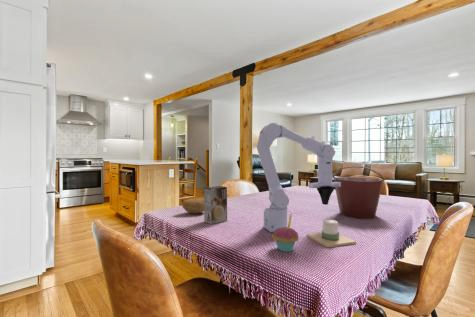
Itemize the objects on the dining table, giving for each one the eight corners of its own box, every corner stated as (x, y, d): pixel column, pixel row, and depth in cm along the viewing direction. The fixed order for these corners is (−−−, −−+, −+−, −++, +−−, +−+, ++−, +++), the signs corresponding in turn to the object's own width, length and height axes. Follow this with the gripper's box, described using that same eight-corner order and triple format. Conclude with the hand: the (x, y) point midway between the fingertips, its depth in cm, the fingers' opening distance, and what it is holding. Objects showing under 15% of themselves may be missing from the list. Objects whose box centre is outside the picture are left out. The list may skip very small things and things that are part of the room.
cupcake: (294, 244, 86) (294, 210, 86) (301, 254, 78) (301, 216, 78) (270, 244, 86) (270, 210, 86) (274, 254, 78) (274, 216, 77)
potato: (181, 212, 133) (180, 197, 133) (206, 210, 138) (206, 196, 138) (183, 216, 124) (183, 200, 124) (210, 214, 129) (210, 199, 129)
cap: (328, 235, 88) (328, 223, 88) (320, 230, 92) (320, 220, 92) (340, 233, 89) (340, 222, 89) (331, 229, 94) (331, 219, 94)
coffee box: (219, 218, 121) (219, 185, 121) (227, 220, 116) (227, 186, 116) (203, 221, 116) (203, 187, 115) (211, 224, 111) (211, 188, 110)
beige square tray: (326, 247, 83) (326, 230, 83) (306, 236, 95) (306, 221, 95) (355, 243, 87) (356, 227, 87) (333, 233, 98) (333, 218, 98)
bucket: (324, 213, 130) (325, 166, 130) (343, 207, 145) (344, 164, 144) (375, 223, 112) (375, 168, 112) (391, 215, 127) (391, 166, 126)
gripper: (316, 173, 100) (316, 207, 100) (345, 172, 104) (345, 204, 105) (306, 172, 107) (306, 203, 107) (334, 171, 111) (334, 201, 111)
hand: (325, 204), depth 106 cm, fingers closed
